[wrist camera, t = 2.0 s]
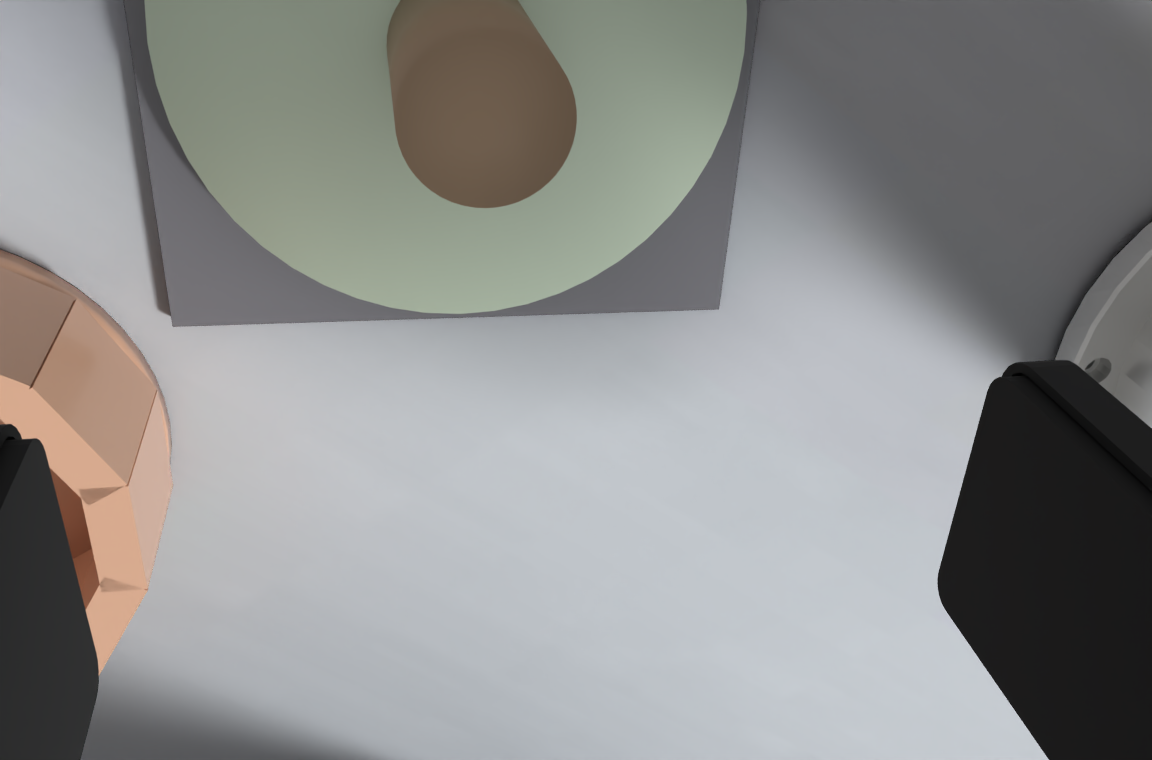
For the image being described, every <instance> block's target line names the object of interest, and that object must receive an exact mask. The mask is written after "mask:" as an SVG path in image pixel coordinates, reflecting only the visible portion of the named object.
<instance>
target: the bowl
mask: <svg viewBox="0 0 1152 760" xmlns="http://www.w3.org/2000/svg"><path fill="white" fill-rule="evenodd" d="M0 424H12V425H13V426H15V427H16V428H17V429H18V431H19V433H20V434H21V437H22V439H32V438H37V439H39V440H40V441H41V443H42V444H43V446H44V449H45V452H46V456H47V460H48V463H49V467H50V471H51V475H52V479H53V483H54V487H55V491H56V495H57V499H58V503H59V507H60V511H61V515H62V519H63V523H64V527H65V531H66V535H67V539H68V543H69V547H70V551H71V554H72V558H73V562H74V566H75V570H76V574H77V578H78V582H79V586H80V590H81V594H82V598H83V602H84V606H85V610H86V614H87V618H88V622H89V626H90V630H91V634H92V638H93V642H94V645H95V649H96V653H97V659H98V668H99V675H100V673H101V671H102V669H103V668H104V666H105V664H106V662H107V661H108V659H109V657H110V655H111V654H112V652H113V650H114V648H115V647H116V645H117V643H118V641H119V640H120V638H121V636H122V634H123V633H124V631H125V629H126V627H127V626H128V624H129V622H130V620H131V619H132V617H133V615H134V613H135V612H136V610H137V608H138V606H139V605H140V603H141V601H142V599H143V598H144V596H145V594H146V592H147V591H148V586H149V582H150V578H151V574H152V570H153V566H154V562H155V558H156V554H157V550H158V545H159V541H160V537H161V533H162V529H163V525H164V521H165V517H166V513H167V509H168V504H169V500H170V496H171V492H172V488H173V481H172V475H171V469H170V461H171V449H172V441H171V428H170V420H169V416H168V412H167V407H166V403H165V399H164V397H163V394H162V392H161V389H160V387H159V384H158V382H157V379H156V377H155V375H154V373H153V371H152V370H151V368H150V366H149V365H148V363H147V361H146V359H145V358H144V356H143V354H142V353H141V351H140V350H139V349H138V347H137V346H136V345H135V344H134V342H133V341H132V340H131V338H130V337H129V336H128V335H127V333H126V332H125V331H124V330H123V329H122V328H121V327H120V326H119V325H118V324H117V323H116V322H115V321H114V320H113V319H112V318H111V317H110V316H109V315H108V314H107V313H106V312H105V311H104V310H103V309H102V308H101V307H100V306H99V305H97V304H96V303H95V302H94V301H92V300H91V299H90V298H89V297H87V296H86V295H85V294H84V293H82V292H81V291H80V290H78V289H77V288H75V287H74V286H72V285H71V284H69V283H67V282H66V281H64V280H63V279H61V278H59V277H58V276H56V275H55V274H53V273H52V272H50V271H48V270H46V269H44V268H42V267H40V266H38V265H36V264H33V263H31V262H29V261H27V260H25V259H23V258H21V257H19V256H16V255H14V254H11V253H8V252H5V251H3V250H0Z"/></svg>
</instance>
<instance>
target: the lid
mask: <svg viewBox="0 0 1152 760" xmlns="http://www.w3.org/2000/svg"><path fill="white" fill-rule="evenodd" d="M144 3H145V17H146V30H147V43H148V48H149V53H150V58H151V63H152V67H153V72H154V77H155V82H156V86H157V88H158V91H159V94H160V97H161V100H162V103H163V106H164V109H165V111H166V114H167V117H168V120H169V123H170V125H171V127H172V129H173V131H174V133H175V135H176V137H177V139H178V141H179V143H180V145H181V147H182V149H183V151H184V153H185V155H186V157H187V159H188V161H189V162H190V164H191V165H192V167H193V168H194V170H195V171H196V173H197V174H198V176H199V177H200V179H201V180H202V182H203V183H204V185H205V186H206V188H207V189H208V191H209V192H210V193H211V194H212V196H213V197H214V198H215V199H216V200H217V201H218V203H219V204H220V205H221V206H222V207H223V208H224V209H225V211H226V212H227V213H228V214H229V215H230V216H231V218H232V219H233V220H234V221H235V222H236V223H237V224H238V225H239V226H240V227H242V228H243V229H244V230H245V231H246V232H247V233H248V234H249V235H250V236H251V237H252V238H254V239H255V240H256V241H257V242H258V243H259V244H260V245H261V246H262V247H264V248H265V249H267V250H268V251H269V252H271V253H272V254H274V255H275V256H276V257H278V258H279V259H281V260H282V261H283V262H285V263H286V264H288V265H289V266H290V267H292V268H293V269H295V270H297V271H299V272H301V273H303V274H304V275H306V276H308V277H310V278H312V279H314V280H315V281H317V282H319V283H321V284H323V285H325V286H327V287H330V288H332V289H335V290H337V291H340V292H342V293H345V294H347V295H350V296H352V297H355V298H357V299H361V300H364V301H368V302H372V303H375V304H379V305H383V306H387V307H390V308H396V309H403V310H409V311H416V312H423V313H446V314H465V313H476V312H488V311H496V310H501V309H506V308H511V307H516V306H520V305H525V304H529V303H532V302H535V301H538V300H541V299H544V298H547V297H550V296H553V295H556V294H559V293H561V292H564V291H566V290H568V289H570V288H572V287H574V286H576V285H578V284H581V283H583V282H585V281H587V280H589V279H591V278H593V277H594V276H596V275H598V274H599V273H601V272H602V271H604V270H606V269H607V268H609V267H610V266H612V265H614V264H615V263H617V262H619V261H620V260H621V259H623V258H624V257H625V256H626V255H628V254H629V253H630V252H631V251H633V250H634V249H635V248H636V247H638V246H639V245H640V244H641V243H643V242H644V241H645V240H646V239H647V238H648V237H649V236H650V235H651V234H652V233H653V232H654V231H655V230H656V229H657V228H658V227H659V226H660V225H661V224H662V223H663V222H664V221H665V220H666V219H667V218H668V217H669V216H670V215H671V214H672V213H673V211H674V210H675V209H676V208H677V206H678V205H679V204H680V203H681V201H682V200H683V199H684V197H685V196H686V195H687V194H688V192H689V191H690V190H691V188H692V187H693V186H694V184H695V182H696V181H697V179H698V177H699V176H700V174H701V172H702V171H703V169H704V167H705V166H706V164H707V163H708V161H709V159H710V158H711V156H712V154H713V151H714V149H715V147H716V145H717V143H718V140H719V138H720V136H721V134H722V132H723V129H724V127H725V125H726V122H727V119H728V116H729V113H730V110H731V107H732V104H733V101H734V97H735V94H736V91H737V88H738V82H739V77H740V72H741V67H742V61H743V56H744V50H745V35H746V21H747V4H746V0H144Z"/></svg>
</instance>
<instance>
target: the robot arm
mask: <svg viewBox="0 0 1152 760" xmlns="http://www.w3.org/2000/svg"><path fill="white" fill-rule="evenodd" d="M938 591H939V596H940V599H941V602H942V604H943V606H944V608H945V610H946V611H947V613H948V614H949V616H950V617H951V619H952V620H953V622H954V623H955V624H956V626H957V627H958V629H959V630H960V632H961V633H962V635H963V636H964V637H965V639H966V640H967V642H968V643H969V645H970V646H971V648H972V649H973V650H974V652H975V653H976V655H977V656H978V658H979V659H980V661H981V662H982V663H983V665H984V666H985V668H986V669H987V671H988V672H989V674H990V675H991V677H992V678H993V679H994V681H995V682H996V684H997V685H998V687H999V688H1000V690H1001V691H1002V692H1003V694H1004V695H1005V697H1006V698H1007V700H1008V701H1009V703H1010V704H1011V705H1012V707H1013V708H1014V710H1015V711H1016V713H1017V714H1018V716H1019V717H1020V718H1021V720H1022V721H1023V723H1024V724H1025V726H1026V727H1027V729H1028V730H1029V731H1030V733H1031V734H1032V736H1033V737H1034V739H1035V740H1036V742H1037V743H1038V744H1039V746H1040V747H1041V749H1042V750H1043V752H1044V753H1045V755H1046V756H1047V757H1048V759H1049V760H1152V222H1151V223H1149V224H1148V225H1147V226H1146V227H1145V228H1144V229H1143V230H1142V231H1141V232H1140V233H1139V234H1138V235H1137V236H1136V237H1135V238H1134V239H1133V240H1132V241H1131V242H1130V243H1129V244H1128V245H1127V246H1126V247H1124V248H1123V249H1122V250H1121V251H1120V252H1119V253H1118V254H1117V255H1116V256H1115V257H1114V258H1113V260H1112V261H1111V262H1110V264H1109V265H1108V266H1107V267H1106V269H1105V270H1104V271H1103V273H1102V274H1101V275H1100V277H1099V278H1098V279H1097V281H1096V282H1095V283H1094V284H1093V286H1092V287H1091V288H1090V290H1089V291H1088V292H1087V294H1086V295H1085V297H1084V299H1083V301H1082V302H1081V304H1080V306H1079V308H1078V310H1077V311H1076V313H1075V315H1074V317H1073V319H1072V320H1071V322H1070V324H1069V326H1068V327H1067V329H1066V331H1065V334H1064V337H1063V340H1062V342H1061V345H1060V348H1059V351H1058V353H1057V356H1056V359H1055V360H1051V361H1035V362H1018V363H1014V364H1012V365H1010V366H1009V367H1008V368H1007V369H1006V370H1005V372H1004V373H1003V375H1002V377H999V378H997V379H995V380H994V381H993V382H992V383H991V384H990V386H989V389H988V391H987V395H986V399H985V402H984V406H983V410H982V413H981V417H980V421H979V424H978V428H977V432H976V436H975V439H974V443H973V447H972V450H971V454H970V458H969V461H968V465H967V469H966V473H965V476H964V480H963V484H962V487H961V491H960V495H959V498H958V502H957V506H956V510H955V513H954V517H953V521H952V524H951V528H950V532H949V536H948V539H947V543H946V547H945V550H944V554H943V558H942V561H941V565H940V569H939V573H938ZM98 683H99V668H98V659H97V653H96V649H95V645H94V642H93V638H92V634H91V630H90V626H89V622H88V618H87V614H86V610H85V606H84V602H83V598H82V594H81V590H80V586H79V582H78V578H77V574H76V570H75V566H74V562H73V558H72V554H71V551H70V547H69V543H68V539H67V535H66V531H65V527H64V523H63V519H62V515H61V511H60V507H59V503H58V499H57V495H56V491H55V487H54V483H53V479H52V475H51V471H50V467H49V463H48V460H47V456H46V452H45V449H44V446H43V444H42V443H41V441H40V440H39V439H37V438H32V439H22V437H21V434H20V433H19V431H18V429H17V428H16V427H15V426H13V425H12V424H0V760H80V759H81V755H82V751H83V747H84V744H85V740H86V736H87V732H88V728H89V724H90V721H91V717H92V713H93V709H94V705H95V701H96V697H97V692H98Z"/></svg>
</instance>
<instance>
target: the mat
mask: <svg viewBox="0 0 1152 760" xmlns="http://www.w3.org/2000/svg"><path fill="white" fill-rule="evenodd" d="M746 4H747V21H746V35H745V50H744V56H743V61H742V67H741V72H740V77H739V82H738V88H737V91H736V94H735V97H734V101H733V104H732V107H731V110H730V113H729V116H728V119H727V122H726V125H725V127H724V129H723V132H722V134H721V136H720V138H719V140H718V143H717V145H716V147H715V149H714V151H713V154H712V156H711V158H710V159H709V161H708V163H707V164H706V166H705V167H704V169H703V171H702V172H701V174H700V176H699V177H698V179H697V181H696V182H695V184H694V186H693V187H692V188H691V190H690V191H689V192H688V194H687V195H686V196H685V197H684V199H683V200H682V201H681V203H680V204H679V205H678V206H677V208H676V209H675V210H674V211H673V213H672V214H671V215H670V216H669V217H668V218H667V219H666V220H665V221H664V222H663V223H662V224H661V225H660V226H659V227H658V228H657V229H656V230H655V231H654V232H653V233H652V234H651V235H650V236H649V237H648V238H647V239H646V240H645V241H644V242H643V243H641V244H640V245H639V246H638V247H636V248H635V249H634V250H633V251H631V252H630V253H629V254H628V255H626V256H625V257H624V258H623V259H621V260H620V261H619V262H617V263H615V264H614V265H612V266H610V267H609V268H607V269H606V270H604V271H602V272H601V273H599V274H598V275H596V276H594V277H593V278H591V279H589V280H587V281H585V282H583V283H581V284H578V285H576V286H574V287H572V288H570V289H568V290H566V291H564V292H561V293H559V294H556V295H553V296H550V297H547V298H544V299H541V300H538V301H535V302H532V303H529V304H525V305H520V306H516V307H511V308H506V309H501V310H496V311H488V312H476V313H465V314H446V313H423V312H416V311H409V310H403V309H396V308H390V307H387V306H383V305H379V304H375V303H372V302H368V301H364V300H361V299H357V298H355V297H352V296H350V295H347V294H345V293H342V292H340V291H337V290H335V289H332V288H330V287H327V286H325V285H323V284H321V283H319V282H317V281H315V280H314V279H312V278H310V277H308V276H306V275H304V274H303V273H301V272H299V271H297V270H295V269H293V268H292V267H290V266H289V265H288V264H286V263H285V262H283V261H282V260H281V259H279V258H278V257H276V256H275V255H274V254H272V253H271V252H269V251H268V250H267V249H265V248H264V247H262V246H261V245H260V244H259V243H258V242H257V241H256V240H255V239H254V238H252V237H251V236H250V235H249V234H248V233H247V232H246V231H245V230H244V229H243V228H242V227H240V226H239V225H238V224H237V223H236V222H235V221H234V220H233V219H232V218H231V216H230V215H229V214H228V213H227V212H226V211H225V209H224V208H223V207H222V206H221V205H220V204H219V203H218V201H217V200H216V199H215V198H214V197H213V196H212V194H211V193H210V192H209V191H208V189H207V188H206V186H205V185H204V183H203V182H202V180H201V179H200V177H199V176H198V174H197V173H196V171H195V170H194V168H193V167H192V165H191V164H190V162H189V161H188V159H187V157H186V155H185V153H184V151H183V149H182V147H181V145H180V143H179V141H178V139H177V137H176V135H175V133H174V131H173V129H172V127H171V125H170V123H169V120H168V117H167V114H166V111H165V109H164V106H163V103H162V100H161V97H160V94H159V91H158V88H157V86H156V82H155V77H154V72H153V67H152V63H151V58H150V53H149V48H148V43H147V30H146V17H145V3H144V0H124V7H125V13H126V20H127V27H128V33H129V40H130V46H131V53H132V60H133V66H134V73H135V80H136V86H137V93H138V100H139V106H140V113H141V120H142V126H143V133H144V140H145V146H146V153H147V160H148V166H149V173H150V180H151V186H152V193H153V200H154V206H155V213H156V219H157V226H158V233H159V239H160V246H161V253H162V259H163V266H164V273H165V279H166V286H167V293H168V299H169V306H170V313H171V319H172V326H173V327H180V326H211V325H243V324H274V323H306V322H337V321H369V320H400V319H432V318H463V317H495V316H526V315H558V314H589V313H621V312H652V311H684V310H715V309H719V305H720V297H721V290H722V282H723V275H724V267H725V260H726V252H727V245H728V237H729V230H730V223H731V215H732V208H733V200H734V193H735V185H736V178H737V170H738V163H739V155H740V148H741V140H742V133H743V125H744V118H745V110H746V103H747V95H748V88H749V80H750V73H751V65H752V58H753V50H754V43H755V36H756V28H757V21H758V13H759V6H760V0H746Z"/></svg>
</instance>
